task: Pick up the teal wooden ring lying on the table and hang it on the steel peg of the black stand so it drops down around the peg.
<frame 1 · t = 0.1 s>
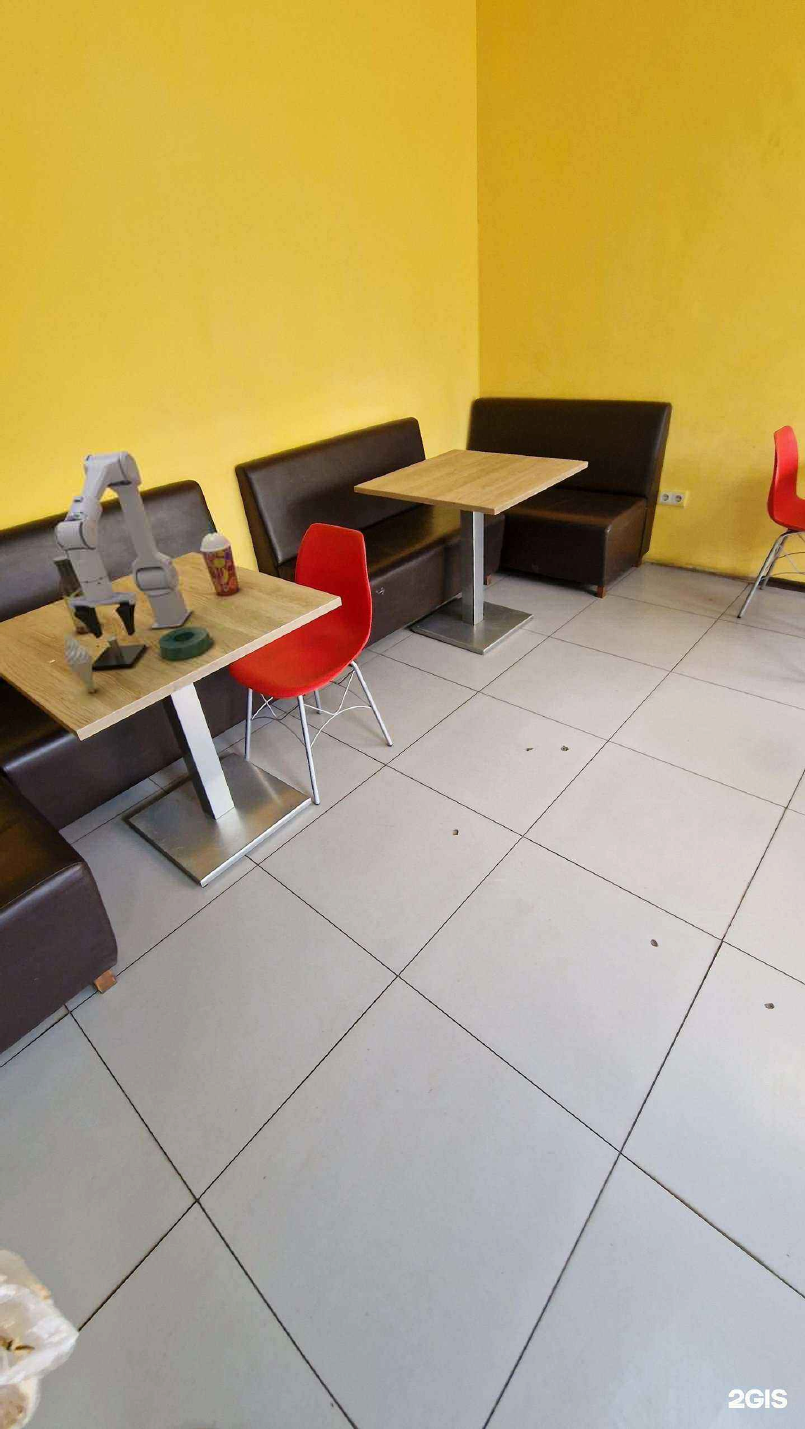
hand: (115, 635, 141), 10 cm above the table, tool pointing down, fingers open, 7 cm apart
smoothie: (228, 592, 184), on the table
peg stand: (120, 659, 154), on the table
sauce bottle: (90, 629, 172), on the table
ice cream cone: (93, 692, 141), on the table
ring: (187, 648, 155), on the table
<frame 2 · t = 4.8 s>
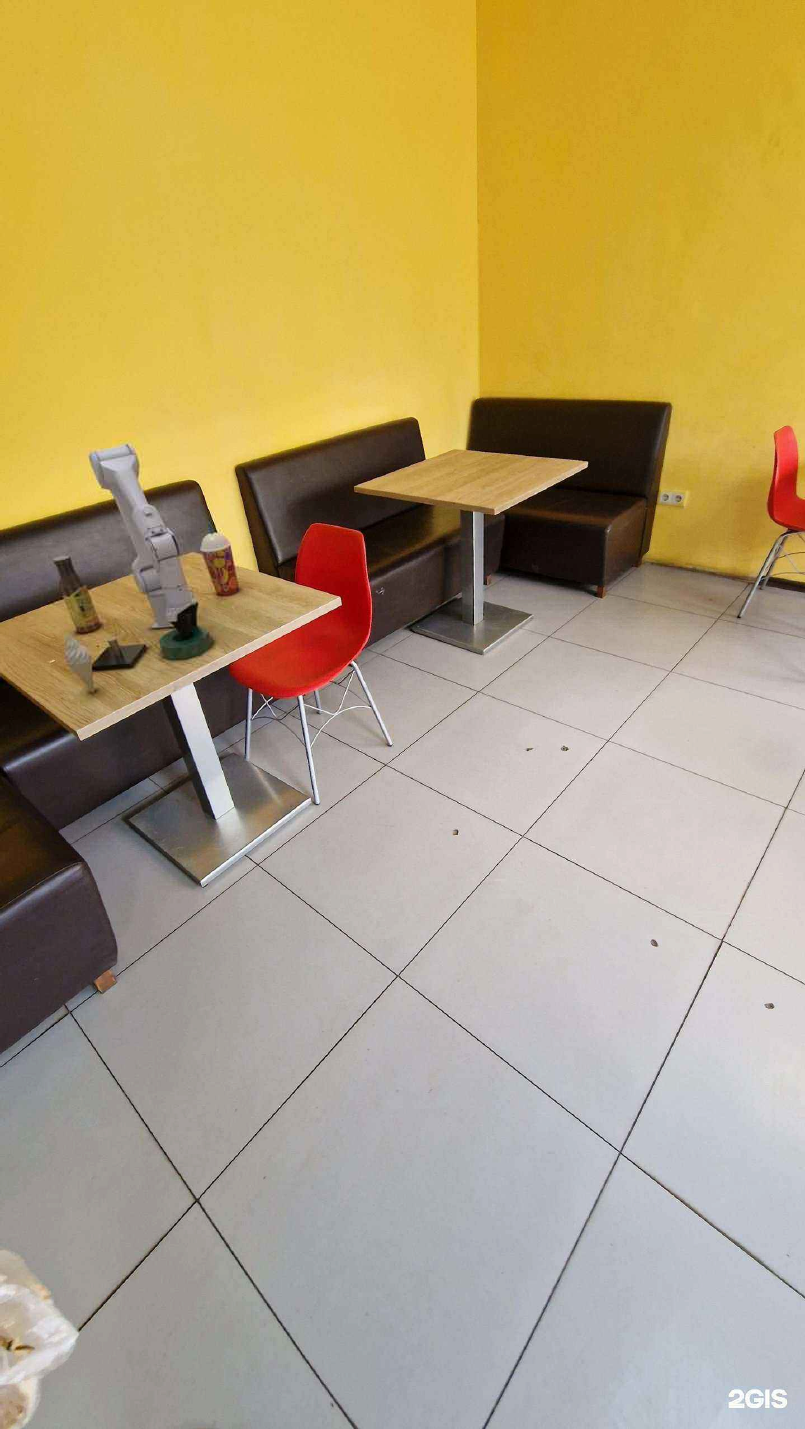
hand: (190, 635, 158), 1 cm above the table, tool pointing down, fingers closed on ring, 3 cm apart
ring: (187, 647, 155), on the table, touching gripper
everything else where it was.
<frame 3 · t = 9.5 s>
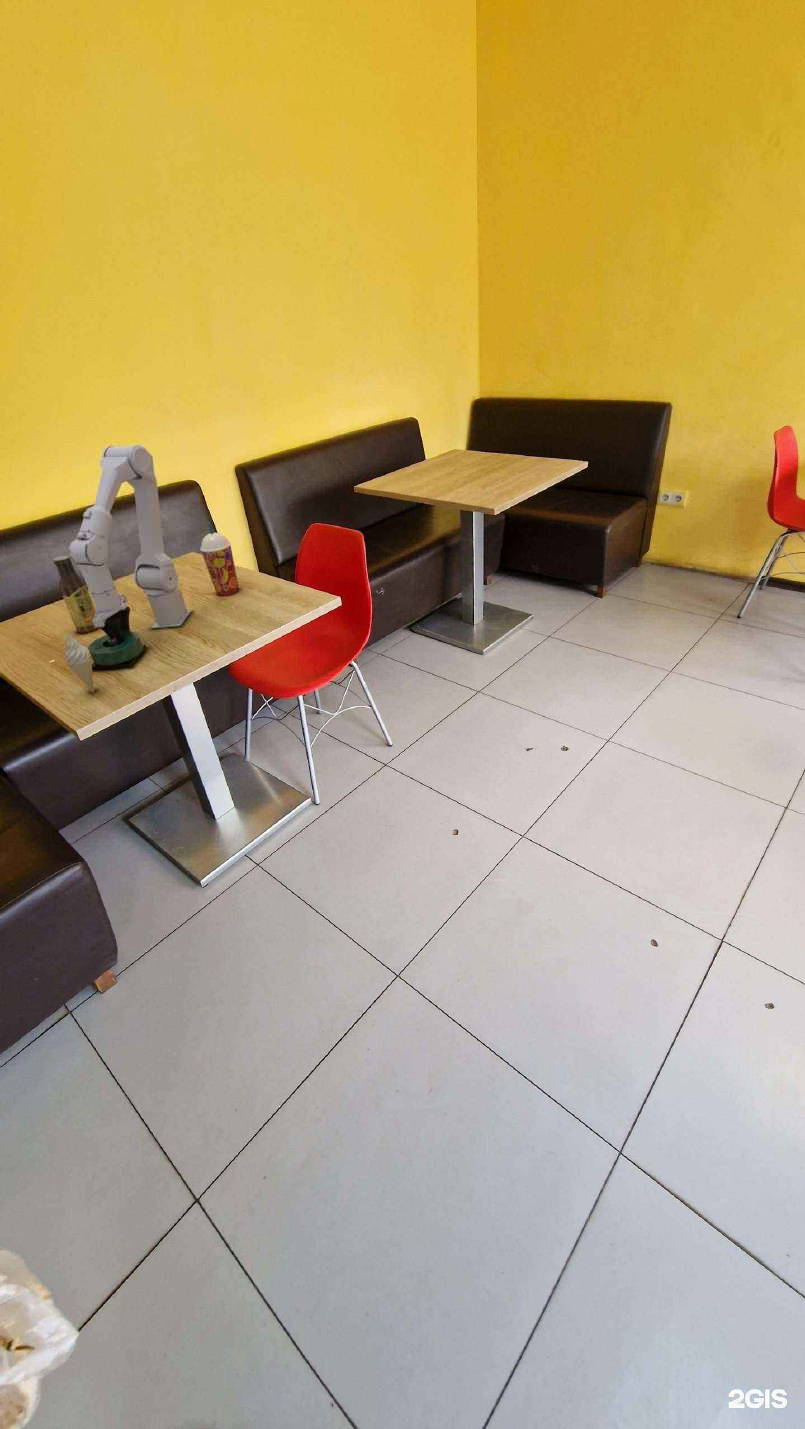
hand: (122, 640, 156), 3 cm above the table, tool pointing down, fingers closed on ring, 3 cm apart
ring: (118, 653, 153), point 1 cm above the table, touching gripper
everything else where it was.
when the fingers open (6 cm above the table, at t = 23.0 s): ring drops 4 cm, resting on peg stand.
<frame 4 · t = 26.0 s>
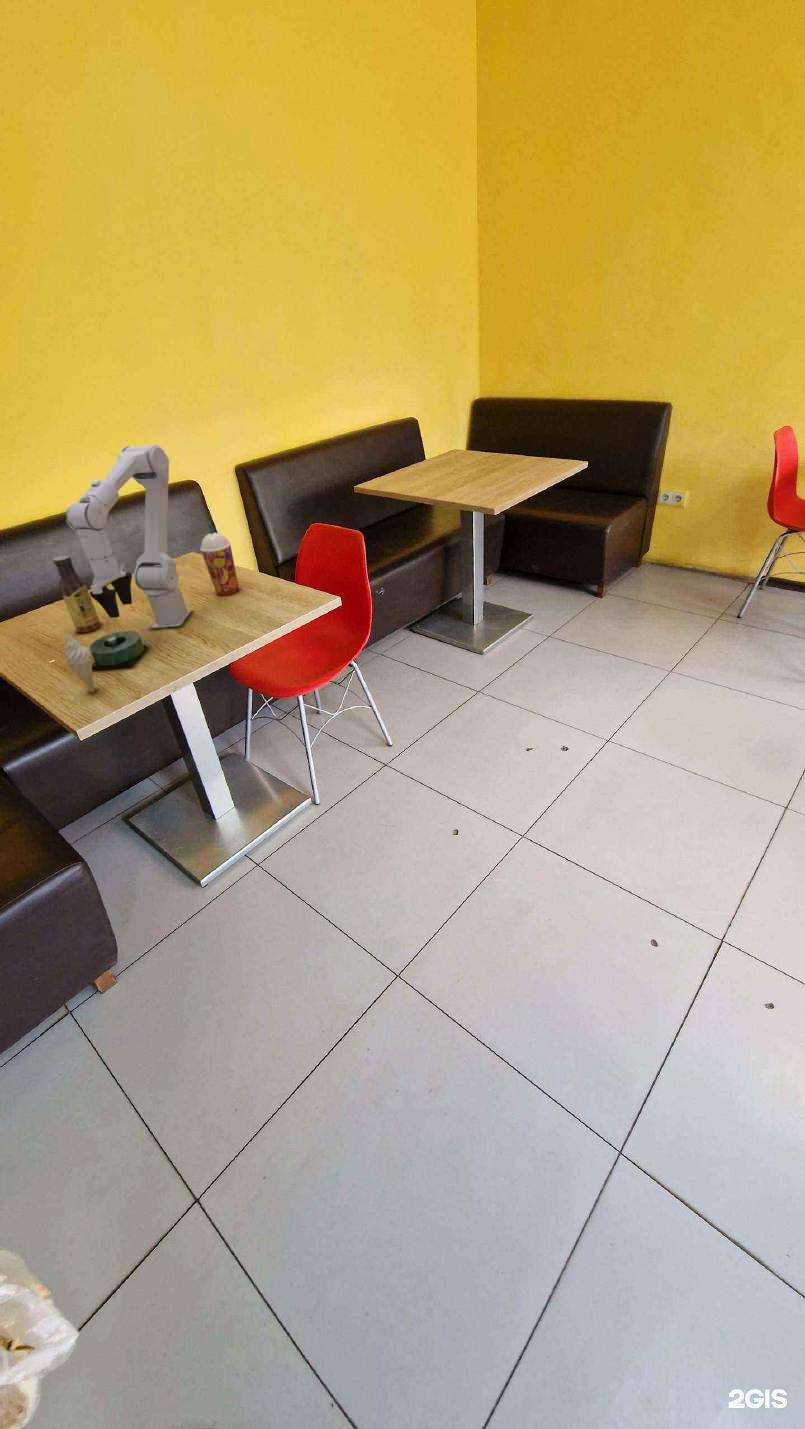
hand: (121, 610, 152), 10 cm above the table, tool pointing down, fingers open, 7 cm apart
ring: (119, 653, 154), point 1 cm above the table, touching peg stand
everything else where it was.
at the end: ring 0.8 cm from the peg stand (horizontally); ring point 1.2 cm above the table; ring tilted 0° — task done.
